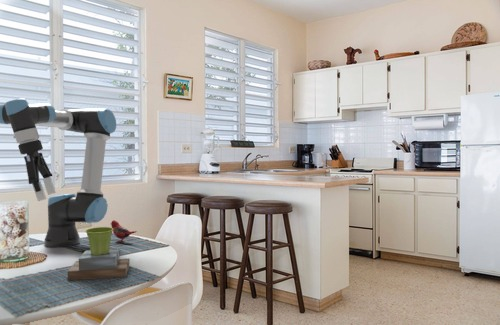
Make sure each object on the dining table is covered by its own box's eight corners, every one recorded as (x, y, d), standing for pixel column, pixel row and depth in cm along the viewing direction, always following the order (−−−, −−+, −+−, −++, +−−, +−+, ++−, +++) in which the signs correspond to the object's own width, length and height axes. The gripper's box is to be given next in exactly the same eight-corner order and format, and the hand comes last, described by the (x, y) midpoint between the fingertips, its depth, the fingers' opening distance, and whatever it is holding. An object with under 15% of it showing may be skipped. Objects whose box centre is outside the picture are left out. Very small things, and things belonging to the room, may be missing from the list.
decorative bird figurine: (113, 239, 200) (112, 219, 199) (139, 244, 191) (139, 222, 190) (108, 240, 197) (108, 220, 197) (134, 245, 188) (134, 223, 188)
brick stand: (76, 268, 151) (76, 250, 151) (129, 266, 155) (129, 248, 155) (67, 280, 139) (67, 259, 138) (125, 276, 142) (125, 257, 142)
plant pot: (105, 257, 141) (104, 232, 141) (80, 256, 143) (80, 231, 143) (118, 250, 150) (118, 227, 150) (95, 249, 152) (94, 226, 152)
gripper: (28, 143, 160) (45, 194, 163) (5, 146, 136) (26, 206, 139) (48, 138, 161) (65, 188, 164) (29, 140, 137) (49, 199, 140)
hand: (47, 196), depth 152 cm, fingers open, 13 cm apart
